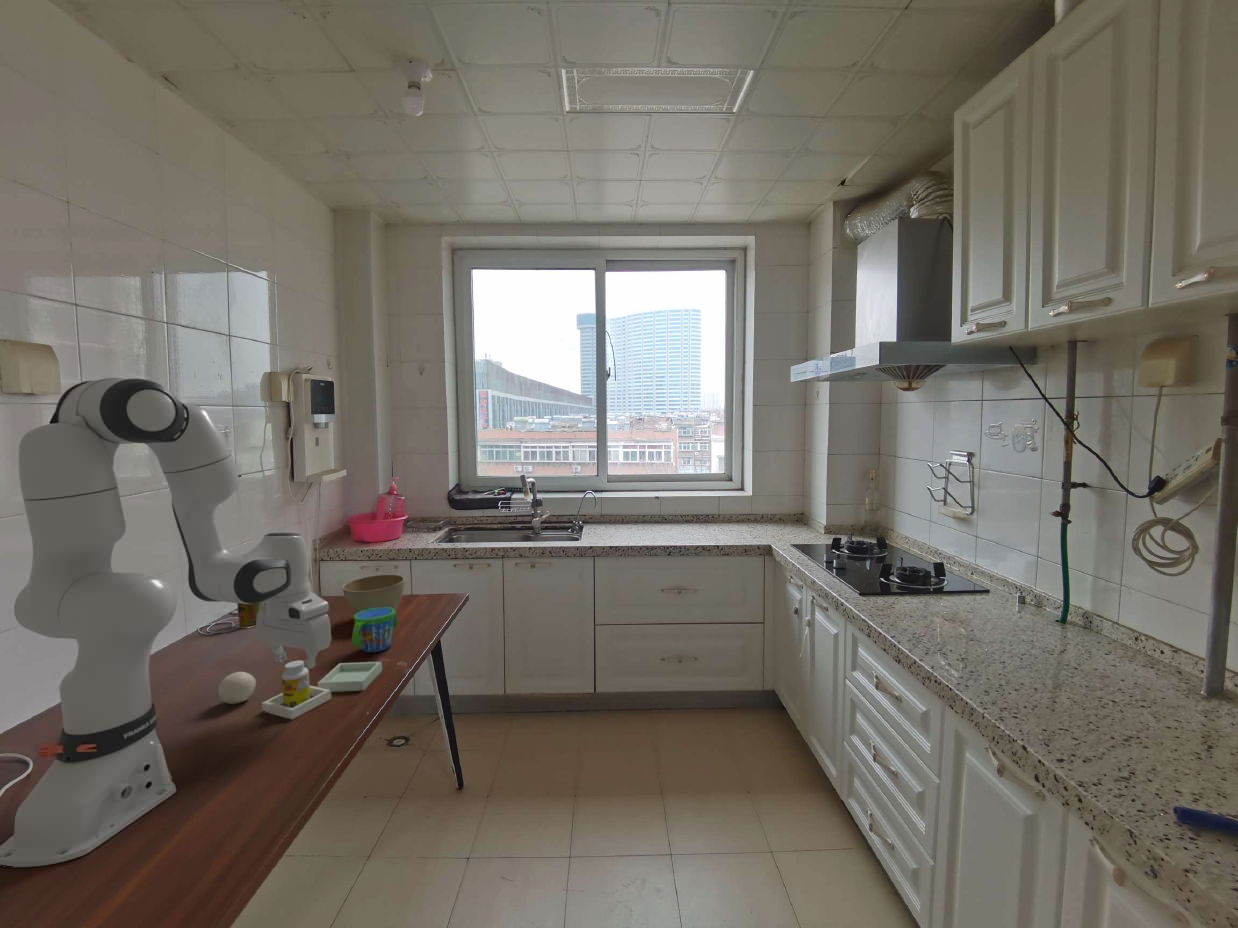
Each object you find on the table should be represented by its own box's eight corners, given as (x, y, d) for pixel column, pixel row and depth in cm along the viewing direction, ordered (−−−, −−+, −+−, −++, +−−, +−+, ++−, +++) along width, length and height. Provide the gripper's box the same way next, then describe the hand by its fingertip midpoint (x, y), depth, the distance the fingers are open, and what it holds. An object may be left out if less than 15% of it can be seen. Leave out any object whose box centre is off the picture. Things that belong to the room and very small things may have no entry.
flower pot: (350, 614, 187) (347, 578, 186) (408, 606, 193) (405, 572, 192) (341, 633, 170) (338, 593, 169) (404, 624, 175) (402, 586, 174)
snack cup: (384, 635, 167) (382, 602, 166) (412, 640, 163) (409, 605, 162) (339, 656, 152) (336, 620, 152) (368, 662, 148) (365, 624, 147)
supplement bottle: (279, 707, 126) (275, 666, 125) (302, 697, 130) (298, 656, 129) (293, 712, 123) (289, 670, 122) (315, 702, 127) (312, 661, 127)
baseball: (264, 694, 132) (262, 667, 131) (236, 710, 125) (233, 681, 124) (242, 692, 134) (239, 664, 133) (212, 707, 127) (209, 678, 126)
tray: (363, 690, 132) (363, 680, 132) (318, 692, 132) (317, 682, 132) (382, 670, 143) (381, 661, 143) (340, 671, 143) (339, 663, 143)
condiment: (232, 626, 179) (229, 589, 178) (257, 617, 187) (254, 582, 186) (249, 629, 177) (245, 591, 176) (273, 619, 184) (270, 583, 184)
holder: (331, 698, 129) (330, 690, 129) (292, 719, 120) (291, 710, 120) (302, 691, 133) (302, 683, 133) (262, 711, 124) (262, 702, 124)
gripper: (245, 603, 126) (251, 662, 127) (307, 613, 118) (313, 677, 119) (272, 594, 132) (278, 651, 133) (334, 603, 123) (339, 664, 125)
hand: (295, 663), depth 126 cm, fingers open, 8 cm apart
